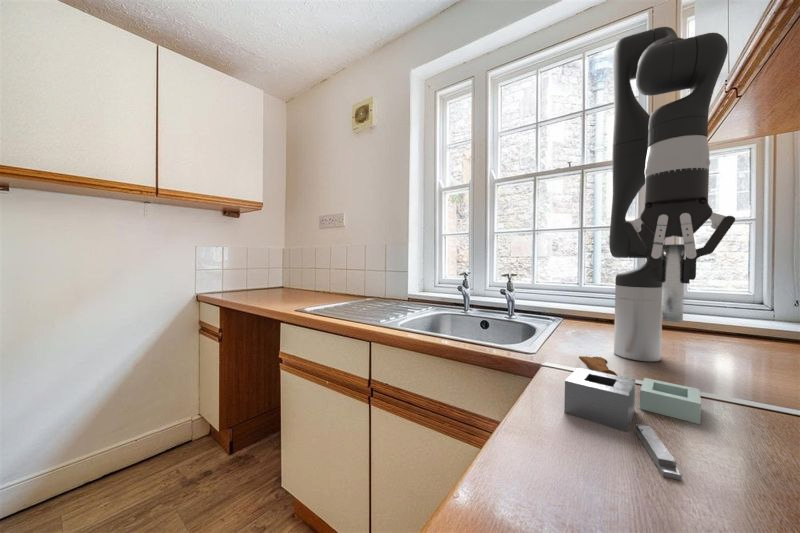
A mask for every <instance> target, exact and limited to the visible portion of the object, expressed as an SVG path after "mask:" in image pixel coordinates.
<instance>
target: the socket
mask: <svg viewBox="0 0 800 533" xmlns="http://www.w3.org/2000/svg"><path fill="white" fill-rule="evenodd" d="M617 375H618V374H617ZM617 375H612V374H607V373H602V372H598V371H593V370H591V369H588V368H587V369H586V368H583V367H577V368H575V370H574V371H573V372H572V373H571V374H570V375H569V376H568V377H567V378H566V379H564V405H563V406H564V407H563V408H564V410H563V411H564V412H563V413H564V414H568V415H571V416H575V417H578V418H581V419H585V420H588V421H590V422H591V421H592V422H594V423H597V424H601V425H604V426H608V427H611V428H614V429H618V430H620V431H624V432H629V428H630V425H631V423H632V420H633V417H634V414H635V411H636V410H635V408H636V406H635V404H636V399H635V398H636V379H634V378H631V377H630V378H629V377H627V376H626V377H625V376H621V375H618V376H617Z"/></svg>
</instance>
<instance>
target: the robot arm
mask: <svg viewBox="0 0 800 533" xmlns="http://www.w3.org/2000/svg"><path fill="white" fill-rule="evenodd" d="M728 45H729V44H728V42H727V39H726V38H725V37H724V36H723V34H720V33H718V32H707V33H706V32H705V33H703V34H698V35H694V36H690V37H686V38H683V37H679V36H678V35H677V32H676V31H675V30H674V28H672V27H669V26H660V27H655V28H653V29H649V30H645V31H642V32H638V33H634V34H631V35H627V36H625V37H624V36H623V38H620V39H619V40H617V42H616V44H615V46H614V49H613V54H612V83H613V84H612V86H613V110H614V112H613V132H612V135H613V136H612V153H611V156H612V158H611V161H612V164H611V165H612V167H611V168H612V200H611V201H612V205H611V216H610V225H609V240H608V243H609V251H610V252H609V253H610V255H611V256H612V257H613V258H616V259H621V258H622V259H646V261H645V263H644V264H642V265H640V266H639V267H637V268H634V269H630V270H627V271H623V272H620V273H617V274H616V276H615V280H614V281H615V291H614V293H615V294H614V295H615V296H614V332H613V333H614V335H613V336H614V338H613V353H614V354H615V355H616V356H619V357H622V358H625V359H628V360H634V361H640V362H659V361H661V359H662V338H663V337H662V334H663V332H662V330H663V320H661V308H662V282H663V245H666V238H667V239H668V238H673V237H677V238H682V240H683V244H684V247H685V259H684V278H683V283H684V284H688V285H689V284H690V281H694V280H695V279H696V278H697V277H696V276H697V260H698V259H699V258H700V257H703V256H708V255H712V254H713V253H714V251H715V250H716V248H717V247H718V245H719V244H720V243H721V241H722V240H723V238H725V236H726V235H727V233H728V232H729V230H730V229H731V227H732V225H733V224H734V223H735V221H736V218H735V216H733V215H724V214H719V213H716V212H713V208H712V207H711V206H710V204H709V185H710V184H709V183H710V180H709V179H710V164H711V160H710V147H709V140H708V139H709V138H708V136H709V133H708V132H709V112H710V104H711V101H712V97H713V95H714V90H715V87H716V84H717V82H718V79H719V77H720V74H721V72H722V69H723V67H724V65H725V62H726V58H727V55H728V49H729V46H728ZM633 80H635V84H636V89H637V90H638V92H639V93H640V94H641V95H643V96H658V95H663V94H667V93H672V92H673V93H674V92H679V91H684V90H689V94H687V95H685V96H684V97H681V98H679V99H677V100H674V101H671V102H668V103H666V104H663V105H662V106H660V107H657V108H656V109H655V110H654V111H653V112H652V113H651V114H649V113H648V112H647V111H646V110H645V109H644V107H643V106H642V105H641V104H640V102H639V101H638V99H637V98H636V96H635V94H634V91H633V88H632V84H631V81H633ZM643 187H644V208H643V210H642V212H641V214H640V217H638V218H636V219H634V220H631V219H630V220H626V217H627V214H628V211H629V208H630V207H631V205H632V203H633V202H634V201H635V200H634V199H635V198H636V196H637V195H638V194H639V192H640V191H641V189H642V188H643ZM708 220H710V221H711V224H710V227H711V229H713V230H714V231H713V232H712V234H711V235H710V237H709V239H708V240H707V241H706V242H705V244H704V246H702V247H698V248H696V243H695V234H696V232H697V231H698V230H699V229H700V228H702V226H703V225H704V224H705V223H706V222H707V221H708Z"/></svg>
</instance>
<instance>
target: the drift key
mask: <svg viewBox="0 0 800 533" xmlns="http://www.w3.org/2000/svg"><path fill="white" fill-rule="evenodd" d="M635 433H636V435H637V437H638V439H639V440H640V442H641V443H642V445H643V446H644V448H645V450H646V451H647V453H648V454H649V456H650V458H651V460H652V461H653V463H654V464H655V466H656V468H657V469H658V472H660V474H661V476H662V477H664V478H668V479H673V480H677V481H682V478H683V477H682V476H683V475H682V473H681V472H680V471H679V469H678V467H677V461H676V460H675V458H674V457H673V455H672V454H671V452H669V450H668V448H667V447H666V445H664V443H663V442H662V440H661V439H660V438H659V436H658V435H657V434H656V432H655V430H654V429H653V428H652V427H651V426H649V425H644V424H639V423H638V424H636V425H635Z"/></svg>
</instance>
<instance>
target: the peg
mask: <svg viewBox="0 0 800 533" xmlns="http://www.w3.org/2000/svg"><path fill="white" fill-rule="evenodd" d="M684 259H686V254H685V247H684V243H683V244H677V243H675V244H674V243H673V244H665V245H663V282H662V308H661V320H662V321H666V322H670V323H671V322H672V323H673V322H674V323H683V322H684V295H685V294H684V293H685V291H684V290H685V288H684V287H685V286H684V285H685V283H683V278H684Z"/></svg>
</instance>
